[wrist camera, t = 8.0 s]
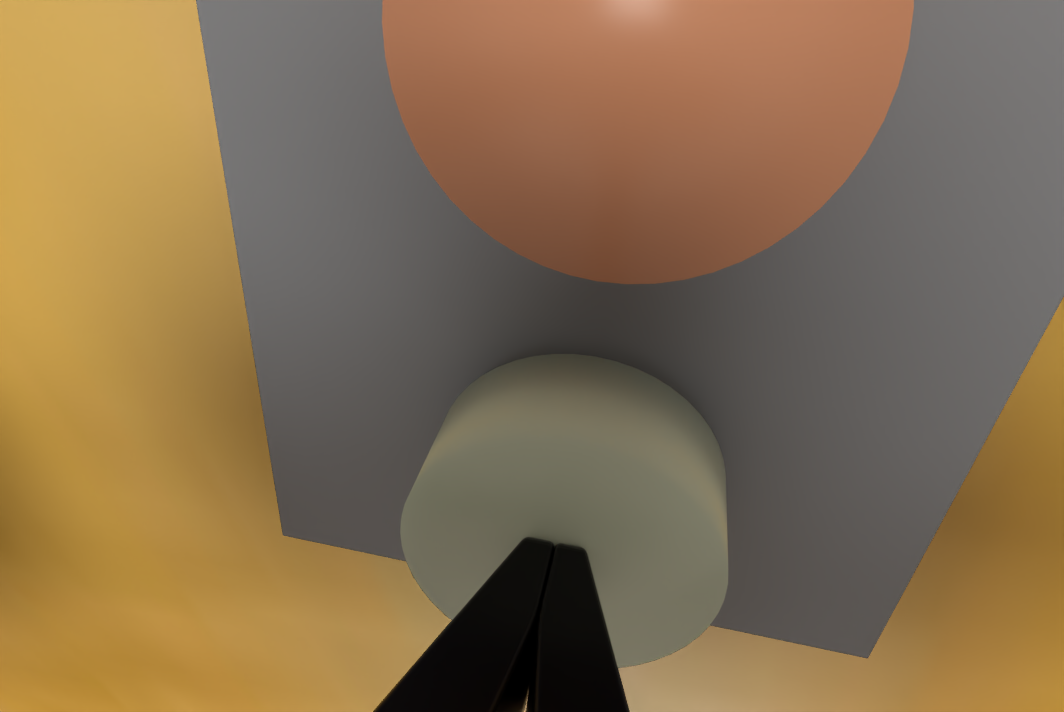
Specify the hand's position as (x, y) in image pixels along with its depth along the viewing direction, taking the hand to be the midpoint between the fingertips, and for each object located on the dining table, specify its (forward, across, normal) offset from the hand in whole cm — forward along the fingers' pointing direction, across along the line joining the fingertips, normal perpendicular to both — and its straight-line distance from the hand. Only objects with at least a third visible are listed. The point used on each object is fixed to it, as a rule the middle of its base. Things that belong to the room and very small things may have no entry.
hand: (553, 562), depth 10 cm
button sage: (+2, 0, 0) cm, 2 cm away
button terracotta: (+2, 0, -6) cm, 7 cm away
